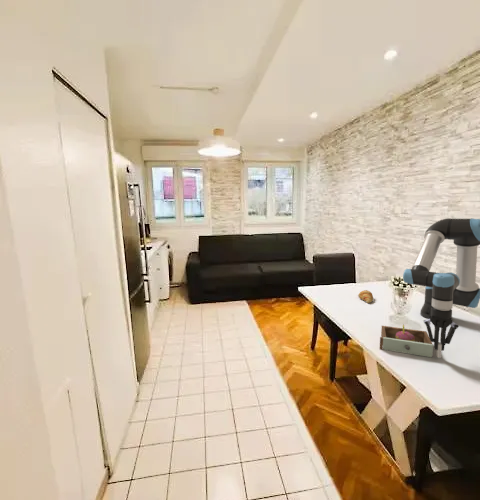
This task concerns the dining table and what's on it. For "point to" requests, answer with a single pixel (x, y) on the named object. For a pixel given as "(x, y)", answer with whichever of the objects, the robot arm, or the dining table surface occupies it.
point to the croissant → (366, 296)
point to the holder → (391, 331)
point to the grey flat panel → (408, 347)
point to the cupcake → (405, 335)
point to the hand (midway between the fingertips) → (438, 356)
